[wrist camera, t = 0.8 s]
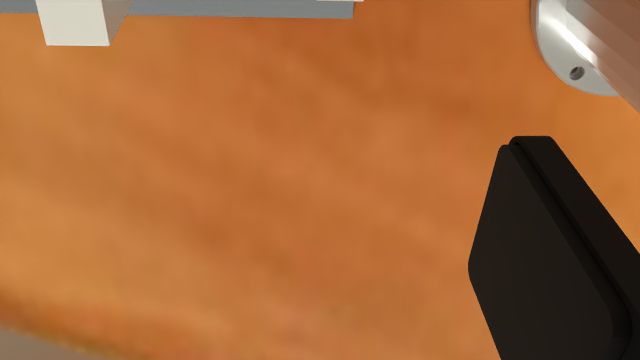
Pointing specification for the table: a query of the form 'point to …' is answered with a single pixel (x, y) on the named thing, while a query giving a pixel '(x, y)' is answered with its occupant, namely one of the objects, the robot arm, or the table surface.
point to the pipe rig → (220, 8)
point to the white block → (82, 21)
